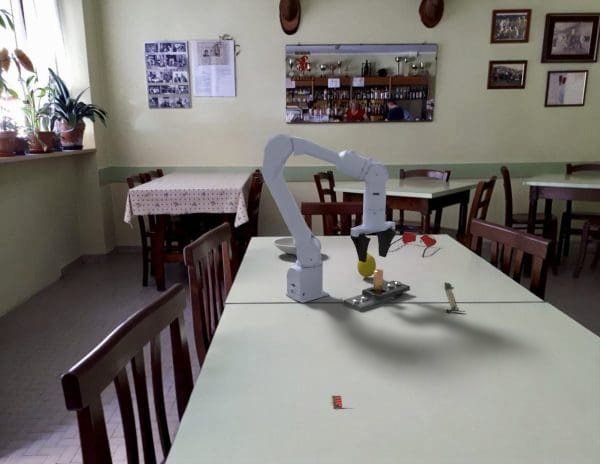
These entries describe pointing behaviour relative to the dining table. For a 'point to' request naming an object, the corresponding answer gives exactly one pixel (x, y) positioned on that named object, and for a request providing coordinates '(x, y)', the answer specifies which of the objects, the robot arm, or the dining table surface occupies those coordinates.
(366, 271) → the lemon
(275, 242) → the dish
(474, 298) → the dining table surface
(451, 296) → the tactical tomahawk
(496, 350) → the dining table surface
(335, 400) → the matchbox
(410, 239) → the glasses
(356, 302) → the chain joint
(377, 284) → the copper pin
